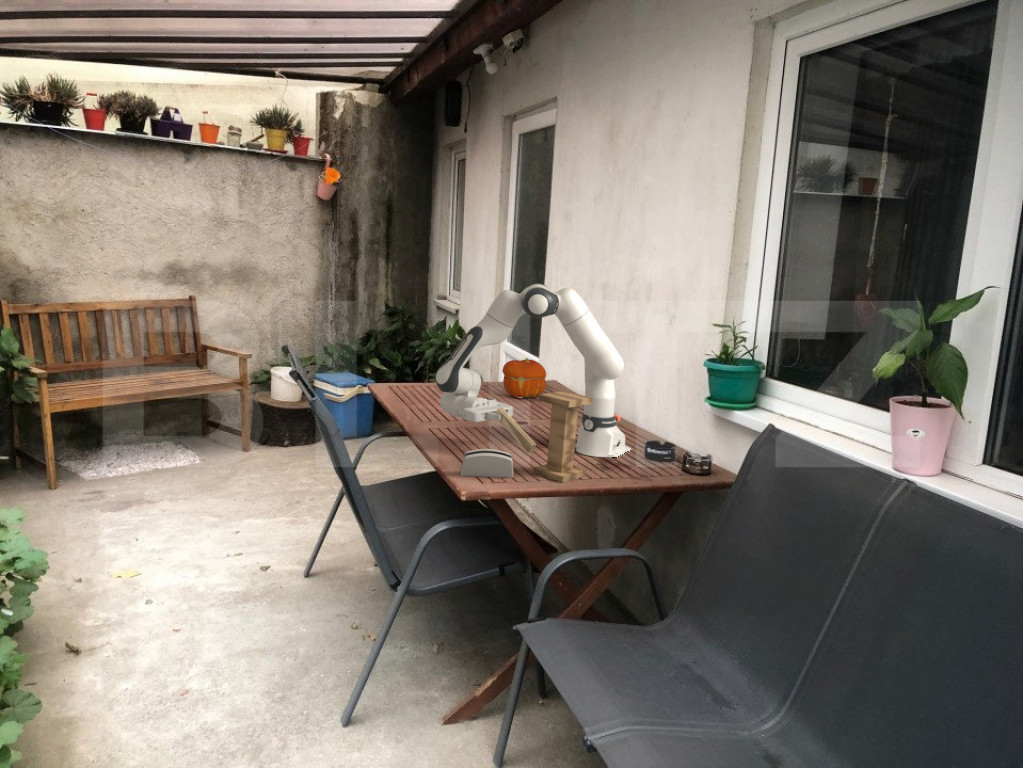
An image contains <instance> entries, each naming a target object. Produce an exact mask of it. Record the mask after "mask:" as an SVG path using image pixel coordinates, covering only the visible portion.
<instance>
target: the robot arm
mask: <svg viewBox="0 0 1023 768" xmlns="http://www.w3.org/2000/svg"><path fill="white" fill-rule="evenodd" d="M526 314H527V315H528V316H529V317H531V318H535V319H542V318H546V317H549V316H552V315H555V316H556V318H557V319H558V321H559V322H560V324H561V326H562V327H563V329H564V330H565V332H566V333H567V335H568V337H569V338H570V340H571V341H572V343H573V345H574V346H575V347H576V349H577V350H578V352H579V353H580V354H581V355H582V357H583V360H584V389H585V390H584V396H587V397H591V398H592V404H588V405H583V412H582V415H581V425H580V426H579V428H578V434H577V441H576V443H575V451H576V452H577V453H579V454H581V455H585V456H589V457H596V458H612V457H617V458H619V457H621V456H623V455H625V454H626V453H625V452H627V451H629V452H631V451H632V448H631V447H630V446H628V445H626V434H624V432H623V431H621V429H620V428H619V427H618V426H617V422H620V420H621V415H617V414H615V408H616V396H617V395H616V394H617V393H616V388H615V387H616V386H615V379H617V378H619V377H620V376H621V375H622V374H623V372H624V368H625V364H624V363H625V362H624V360H623V358H622V356H621V355H620V352H618V350H617V348H616V347H615V345H614V344H613V342H612V341H611V340H610V339H609V337H608V336H607V334H606V333H605V332H604V330H603V329H602V327H601V326H600V324H599V323H598V321H597V320H596V318H595V317H594V315H593V313H592V311H591V310H590V308H589V306H588V305H587V304H586V302H585V301H584V299H583V298H582V297H581V295H580V294H579V293H578V292H577V291H576V290H575V289H573V288H571V287H564V288H561V289H559V290H558V291H552V290H550V288H549V287H548V286H547V285H545V284H544V283H540V282H536V283H535V282H534V283H531V284H529V285H527V286H526V287H525V288H523V289H520V290H519V291H518V292H516V291H514V290H511V289H506V290H505V289H504V290H501V292H500V293H499V294H497V296H496V297H495V299H494V300H493V301H492V303H491V305H489V307H488V309H487V311H486V313H485V315H484V316H483V317H482V319H481V320H480V321H479V322H477V324H476V325H475V326H473V327H471V328H470V329H469V330H468V331H467V332H466V334H464V336H463V338H461V340H460V342H459V343H458V344H457V346H456V347H455V348H454V350H453V351H452V353H451V354H450V356H449V357H448V358H447V360H445V362H443V364H441V366H439V368H438V369H437V371H436V373H435V379H434V380H435V383H436V386H437V388H438V389H439V390H440V391H441V392H442V394H441V396H440V399H439V403H440V404H439V405H440V407H441V409H442V410H443V412H445V413H446V414H448V415H450V416H453V417H456V418H459V419H461V418H462V419H463V420H466V421H467V422H471V423H477V424H478V423H481V422H485V421H491V420H494V421H495V420H496V421H499V420H502V417H503V416H502V415H500V414H495V412H496V411H497V409H498V408H503V409H504V410H505V411H506V412H507V413H508V414H509V415H510V416H511V417H512V418H513V416H514V407H513V406H512V405H510V404H507V403H504V402H501V401H497V399H495V398H484V397H479V394H480V392H481V389H482V385H483V384H482V383H483V382H482V377H481V375H480V373H479V372H478V371H477V370H474V369H471V368H466V367H464V366H465V365H466V363H467V362H468V361H469V359H470V358H471V356H472V355H473V354H474V353H475V352H476V351H477V350H479V349H480V348H483V347H487V346H492V345H494V346H495V345H498V344H502V343H503V342H505V341H506V340H507V338H508V337H509V336H510V335H511V333H512V332H513V331H514V327H515V326H516V324H517V322H518V320H519V318H521V317H522V316H523V315H526ZM630 450H631V451H630ZM624 453H625V454H624ZM627 453H628V452H627ZM622 454H623V455H622ZM620 455H621V456H620ZM618 456H619V457H618Z"/></svg>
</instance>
